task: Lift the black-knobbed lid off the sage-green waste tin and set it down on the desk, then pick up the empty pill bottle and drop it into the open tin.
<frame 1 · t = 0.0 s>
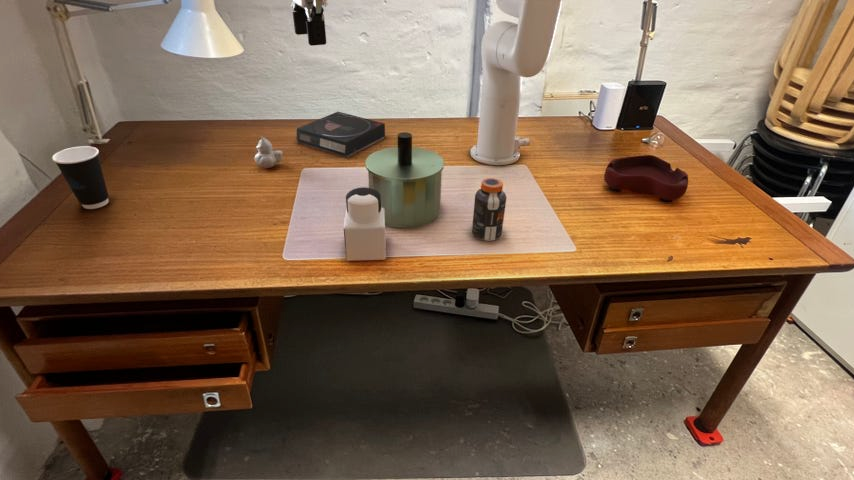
hand: (310, 39, 97), 31 cm above the table, tool pointing down, fingers open, 9 cm apart
lid: (404, 164, 101), point 10 cm above the table, touching tin
portable cd player: (341, 141, 137), on the table
dixie cup: (96, 204, 106), on the table
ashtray: (642, 187, 120), on the table
tin: (405, 210, 107), on the table
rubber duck: (270, 167, 123), on the table
pill bottle: (486, 234, 101), on the table
medicine bottle: (366, 251, 95), on the table
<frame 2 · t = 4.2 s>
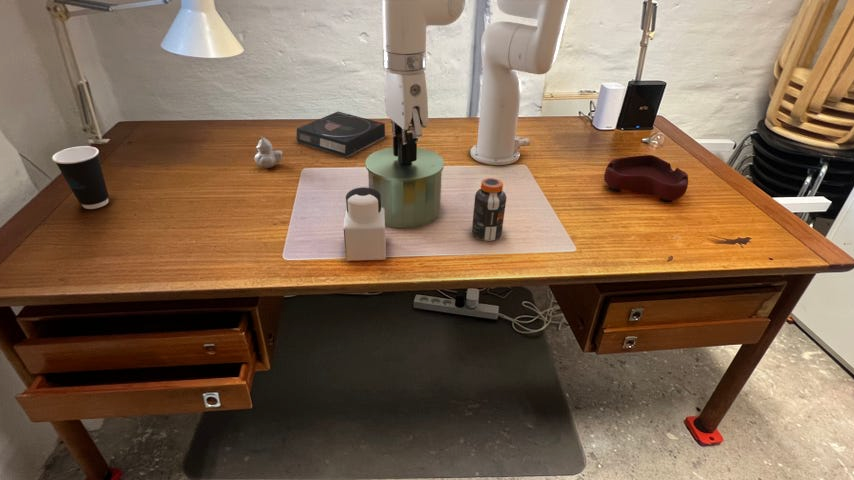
hand: (404, 157, 100), 12 cm above the table, tool pointing down, fingers closed on lid, 2 cm apart
lid: (404, 164, 101), point 11 cm above the table, touching gripper, tin
everything else where it was.
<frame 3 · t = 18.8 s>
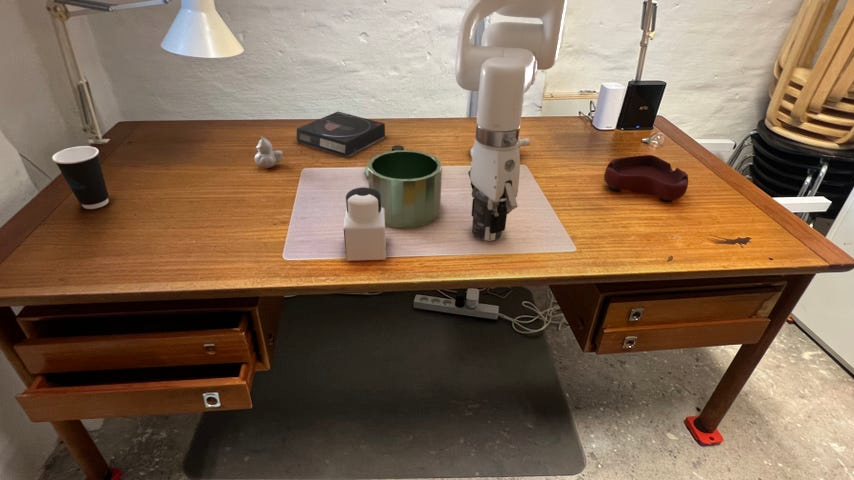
hand: (487, 222, 99), 3 cm above the table, tool pointing down, fingers closed on pill bottle, 6 cm apart
lid: (398, 171, 121), point 1 cm above the table
pill bottle: (486, 234, 101), on the table, touching gripper
everything else where it was.
when the fingers open (11 cm above the table, at t = 25.2 s): pill bottle drops 8 cm, resting on tin.
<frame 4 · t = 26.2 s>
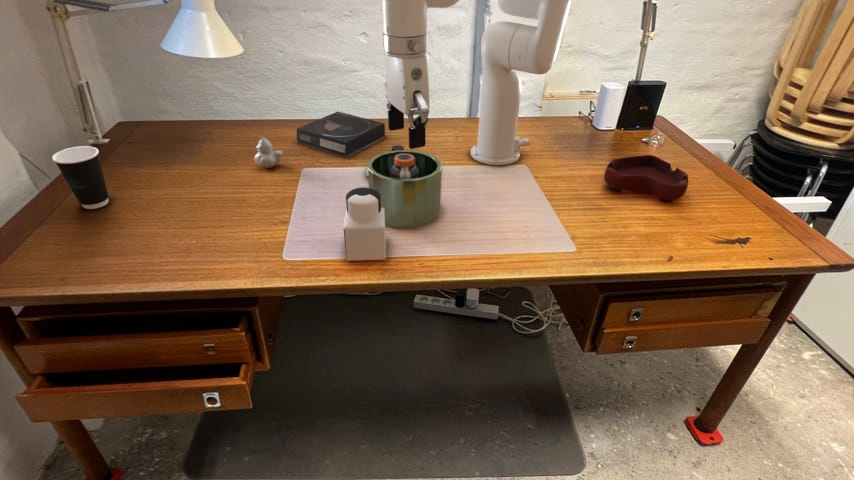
hand: (406, 137, 98), 16 cm above the table, tool pointing down, fingers open, 9 cm apart
pill bottle: (404, 207, 108), resting on tin
everything else where it was.
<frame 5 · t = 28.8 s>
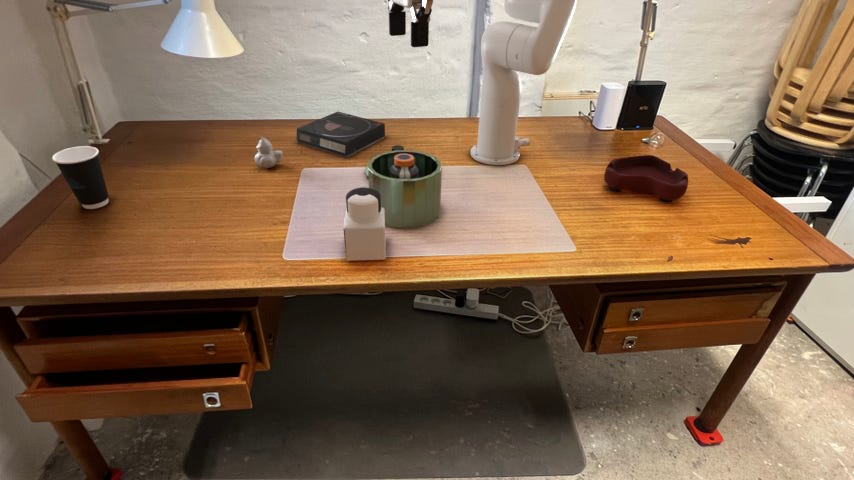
hand: (408, 40, 93), 32 cm above the table, tool pointing down, fingers open, 9 cm apart
nothing on the table moved.
at the end: lid inside the target area (0.3 cm from its centre), point 0.6 cm above the table; pill bottle inside the target area in the tin (0.7 cm from its centre), point 0.3 cm above the tin's base; the gripper is holding nothing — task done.
